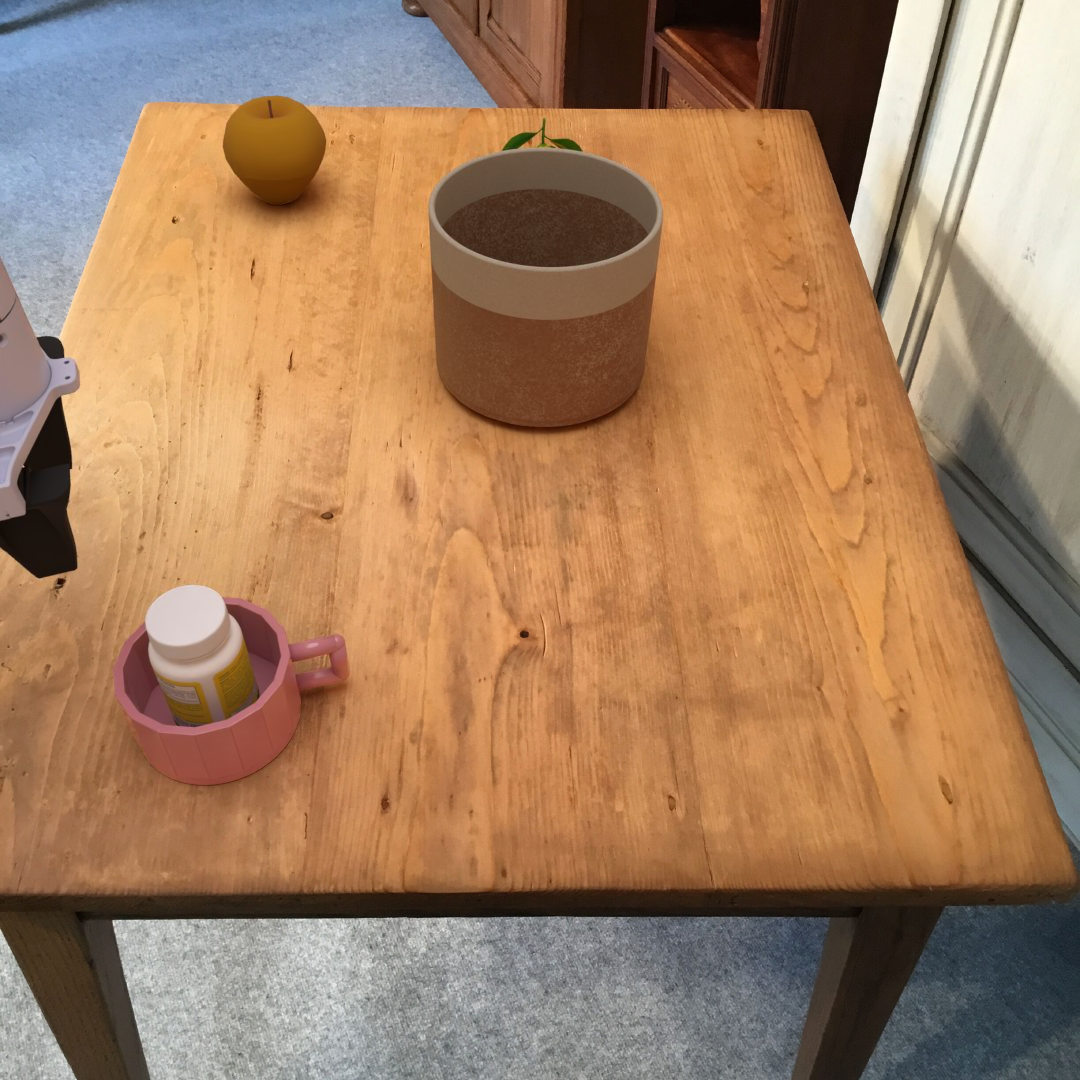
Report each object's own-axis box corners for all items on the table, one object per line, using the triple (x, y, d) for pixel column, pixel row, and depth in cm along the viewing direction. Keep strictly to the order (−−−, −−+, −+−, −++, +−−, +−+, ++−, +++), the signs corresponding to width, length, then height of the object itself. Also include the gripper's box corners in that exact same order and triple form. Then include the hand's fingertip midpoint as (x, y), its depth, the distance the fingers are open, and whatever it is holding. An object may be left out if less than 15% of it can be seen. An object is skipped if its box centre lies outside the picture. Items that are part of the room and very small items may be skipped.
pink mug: (143, 804, 57) (118, 753, 53) (131, 671, 63) (109, 616, 59) (368, 747, 60) (359, 695, 56) (337, 624, 66) (328, 570, 62)
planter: (651, 317, 88) (671, 158, 78) (633, 447, 77) (654, 282, 67) (459, 296, 89) (454, 136, 79) (415, 420, 79) (403, 254, 68)
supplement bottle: (252, 664, 63) (225, 568, 57) (269, 729, 60) (243, 635, 54) (167, 688, 61) (130, 592, 55) (180, 756, 58) (143, 662, 52)
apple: (338, 218, 97) (326, 121, 90) (235, 228, 95) (216, 130, 89) (327, 168, 103) (316, 74, 96) (231, 176, 101) (212, 81, 95)
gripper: (46, 393, 44) (141, 599, 54) (40, 207, 53) (123, 414, 63) (-141, 431, 43) (-7, 635, 53) (-114, 233, 52) (-4, 440, 62)
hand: (55, 517), depth 58 cm, fingers open, 7 cm apart
